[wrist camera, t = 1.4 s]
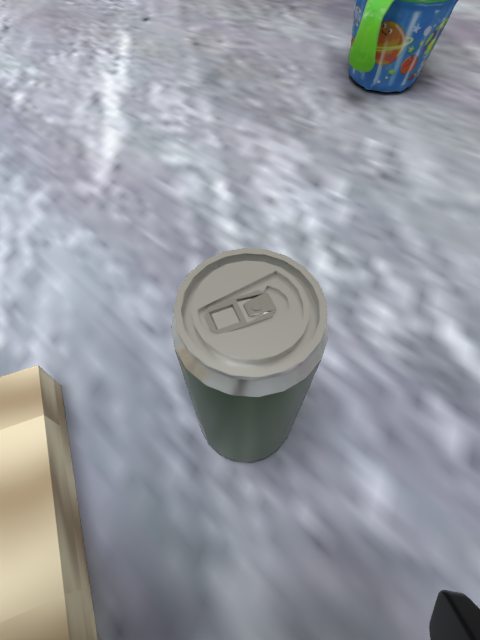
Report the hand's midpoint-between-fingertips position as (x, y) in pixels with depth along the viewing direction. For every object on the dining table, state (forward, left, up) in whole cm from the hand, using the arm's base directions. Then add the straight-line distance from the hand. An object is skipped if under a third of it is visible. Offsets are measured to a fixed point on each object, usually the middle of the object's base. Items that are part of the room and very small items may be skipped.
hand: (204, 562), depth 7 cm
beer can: (+6, -3, -13) cm, 15 cm away
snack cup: (+37, -32, -13) cm, 51 cm away
